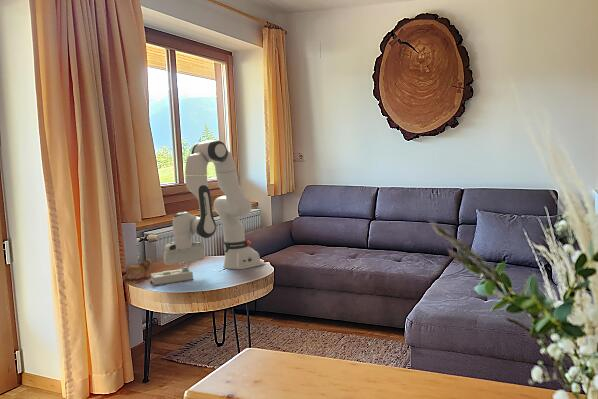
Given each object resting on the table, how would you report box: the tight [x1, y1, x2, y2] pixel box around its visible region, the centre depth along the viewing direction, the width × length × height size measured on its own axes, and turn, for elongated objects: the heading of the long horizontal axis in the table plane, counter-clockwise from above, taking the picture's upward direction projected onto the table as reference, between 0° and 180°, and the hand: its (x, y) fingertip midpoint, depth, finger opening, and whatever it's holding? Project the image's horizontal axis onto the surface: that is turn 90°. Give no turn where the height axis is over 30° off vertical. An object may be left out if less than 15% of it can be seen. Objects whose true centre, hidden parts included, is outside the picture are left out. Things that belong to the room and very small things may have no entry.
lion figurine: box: [124, 258, 153, 280], centre depth 269 cm, size 15×5×9 cm, turn 119°
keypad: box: [150, 267, 194, 287], centre depth 258 cm, size 19×12×4 cm, turn 114°
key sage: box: [162, 270, 171, 275], centre depth 257 cm, size 3×3×3 cm
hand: (185, 270), depth 261 cm, fingers closed
